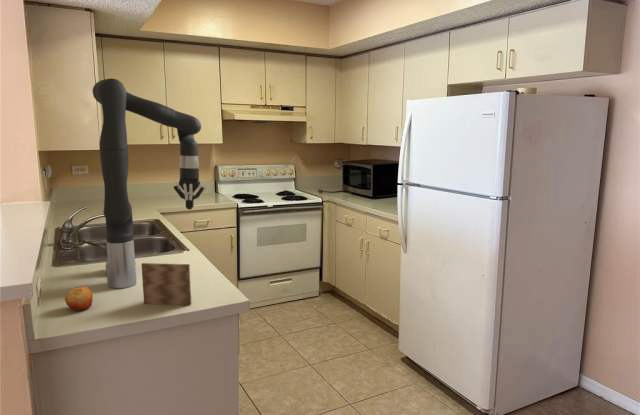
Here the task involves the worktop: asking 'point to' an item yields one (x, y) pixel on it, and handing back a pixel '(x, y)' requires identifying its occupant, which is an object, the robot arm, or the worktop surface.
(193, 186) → the robot arm
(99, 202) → the worktop surface
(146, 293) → the brown wooden block
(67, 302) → the fruit
